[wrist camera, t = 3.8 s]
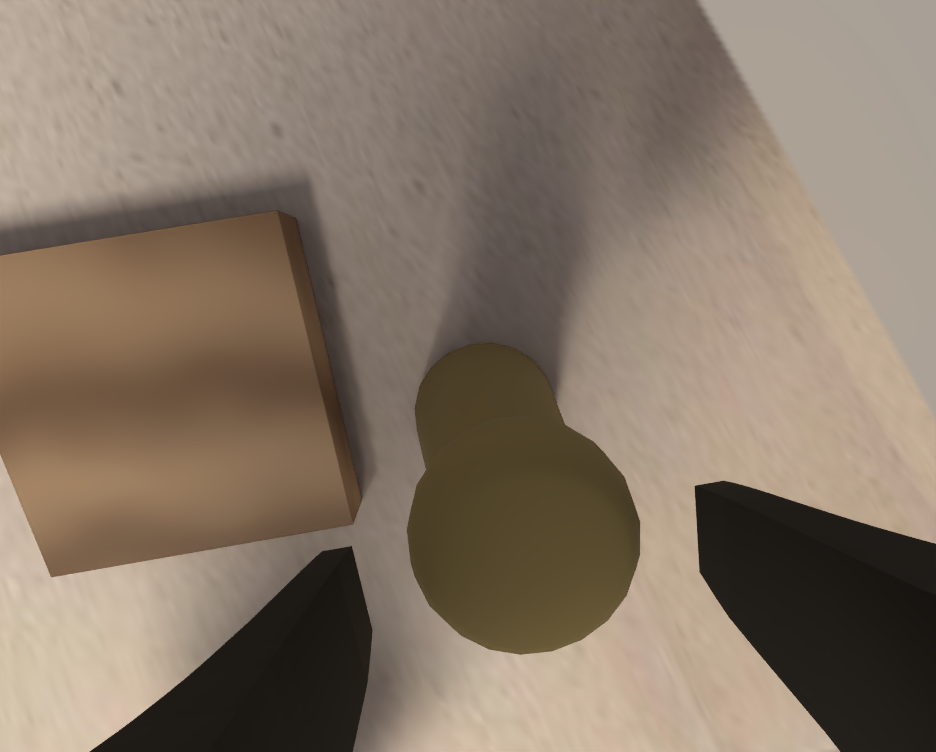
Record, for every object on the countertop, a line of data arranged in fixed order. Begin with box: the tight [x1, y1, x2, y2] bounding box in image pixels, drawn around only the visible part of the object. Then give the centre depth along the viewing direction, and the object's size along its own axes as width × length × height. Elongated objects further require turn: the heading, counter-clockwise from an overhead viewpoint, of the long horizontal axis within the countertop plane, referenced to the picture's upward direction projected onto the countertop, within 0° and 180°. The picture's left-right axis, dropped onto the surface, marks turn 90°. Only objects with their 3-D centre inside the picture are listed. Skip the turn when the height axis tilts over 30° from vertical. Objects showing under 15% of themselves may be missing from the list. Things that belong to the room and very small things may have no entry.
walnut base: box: [0, 210, 362, 577], centre depth 18 cm, size 12×12×2 cm
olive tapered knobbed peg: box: [407, 343, 640, 655], centre depth 14 cm, size 6×6×11 cm
